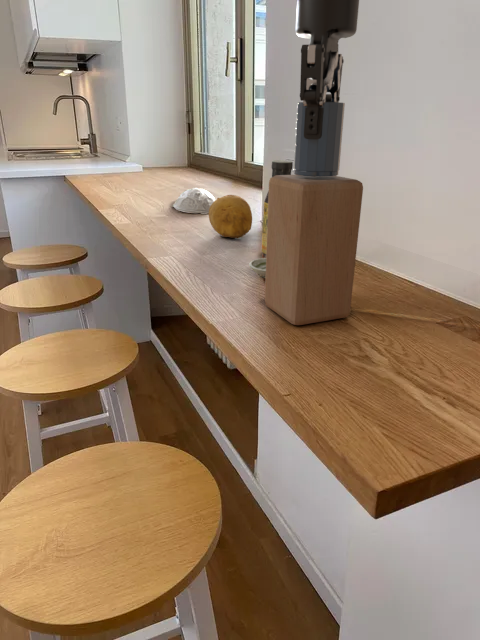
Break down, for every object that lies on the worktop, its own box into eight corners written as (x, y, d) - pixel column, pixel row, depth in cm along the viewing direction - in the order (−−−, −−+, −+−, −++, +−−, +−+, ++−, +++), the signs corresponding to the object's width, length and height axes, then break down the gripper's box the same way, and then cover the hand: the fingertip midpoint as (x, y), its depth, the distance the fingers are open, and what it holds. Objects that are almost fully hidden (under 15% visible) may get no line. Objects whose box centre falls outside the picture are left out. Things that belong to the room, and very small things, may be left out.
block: (293, 328, 70) (302, 183, 62) (262, 305, 78) (266, 174, 71) (352, 318, 74) (367, 180, 66) (316, 297, 82) (325, 172, 74)
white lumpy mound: (217, 199, 174) (215, 179, 171) (223, 216, 151) (221, 194, 148) (173, 204, 173) (170, 184, 170) (173, 221, 150) (170, 199, 147)
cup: (342, 173, 70) (348, 103, 66) (333, 177, 64) (339, 101, 61) (299, 171, 72) (303, 103, 68) (288, 175, 66) (291, 101, 63)
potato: (223, 243, 116) (223, 200, 113) (202, 232, 127) (202, 192, 123) (261, 239, 121) (262, 197, 117) (238, 229, 131) (239, 190, 127)
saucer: (286, 266, 99) (286, 254, 98) (309, 280, 90) (310, 268, 90) (241, 271, 96) (241, 259, 95) (261, 286, 87) (261, 273, 86)
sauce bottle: (256, 257, 105) (259, 159, 98) (282, 254, 107) (287, 159, 100) (269, 265, 100) (273, 162, 92) (297, 262, 102) (303, 161, 94)
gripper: (349, -27, 53) (336, 141, 59) (367, 1, 65) (354, 137, 71) (281, -21, 55) (275, 139, 61) (311, 5, 67) (304, 136, 74)
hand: (318, 137), depth 66 cm, fingers closed on cup, 6 cm apart
